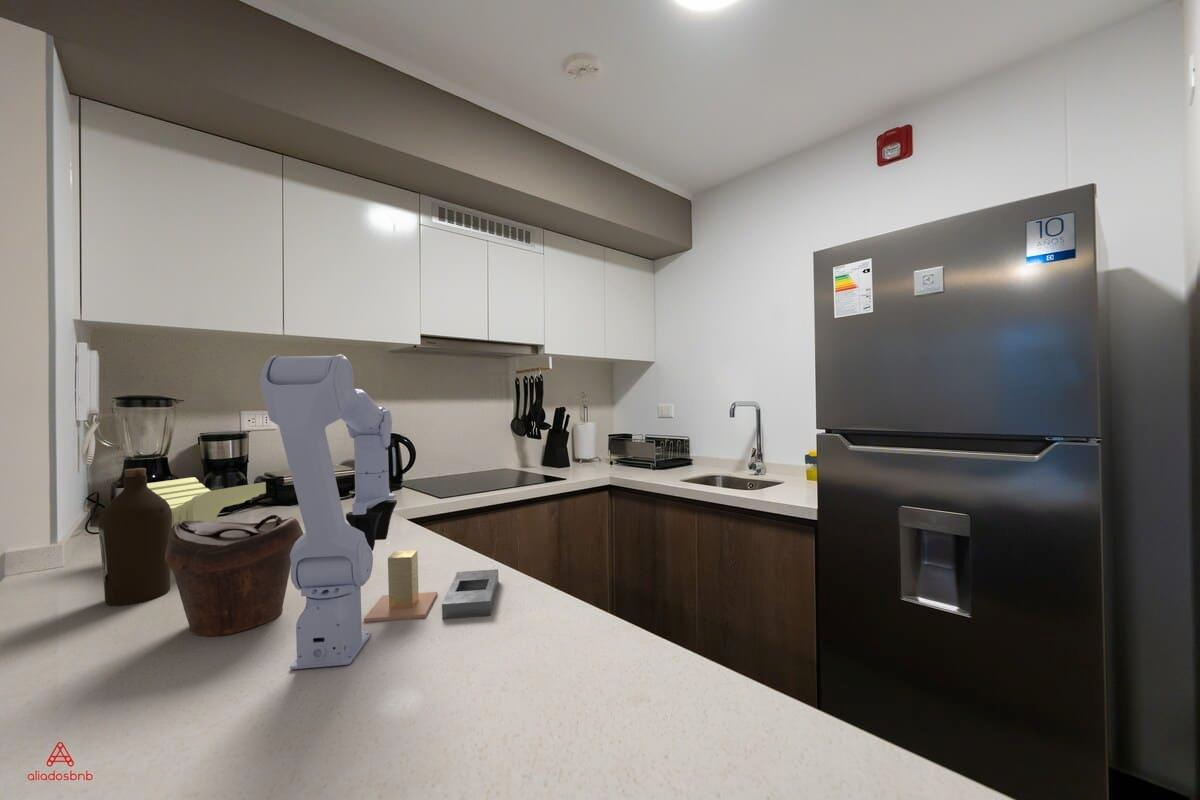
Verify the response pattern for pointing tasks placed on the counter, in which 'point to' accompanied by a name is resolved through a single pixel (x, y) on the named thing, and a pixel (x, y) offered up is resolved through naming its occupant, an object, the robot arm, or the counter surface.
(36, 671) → the counter surface
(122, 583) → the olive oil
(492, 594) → the grey slotted block
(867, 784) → the counter surface
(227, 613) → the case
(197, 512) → the slatted curved stool
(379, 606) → the terracotta tile
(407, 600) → the brass bar
